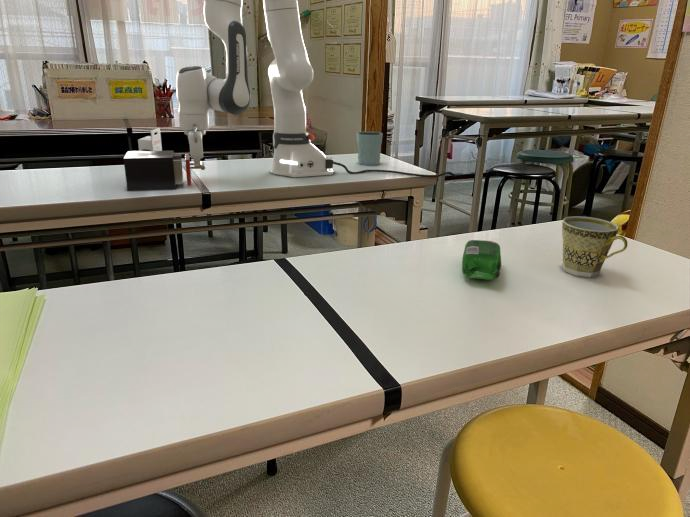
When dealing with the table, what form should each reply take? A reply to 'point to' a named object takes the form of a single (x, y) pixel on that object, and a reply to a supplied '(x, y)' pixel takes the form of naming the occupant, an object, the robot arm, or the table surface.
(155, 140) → the ink box
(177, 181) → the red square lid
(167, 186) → the black drawer casing
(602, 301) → the table surface
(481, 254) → the snack package
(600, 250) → the ceramic cup
